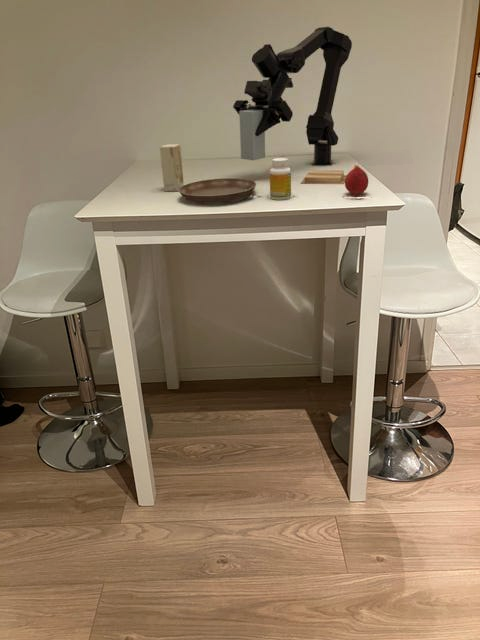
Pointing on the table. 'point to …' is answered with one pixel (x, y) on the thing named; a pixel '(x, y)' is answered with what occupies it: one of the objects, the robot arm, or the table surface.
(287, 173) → the supplement bottle
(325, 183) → the walnut base slab
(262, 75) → the robot arm
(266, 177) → the table surface
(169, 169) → the skincare box
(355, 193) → the onion
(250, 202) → the table surface
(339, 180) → the oak top slab
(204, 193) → the plant saucer
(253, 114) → the slate block
